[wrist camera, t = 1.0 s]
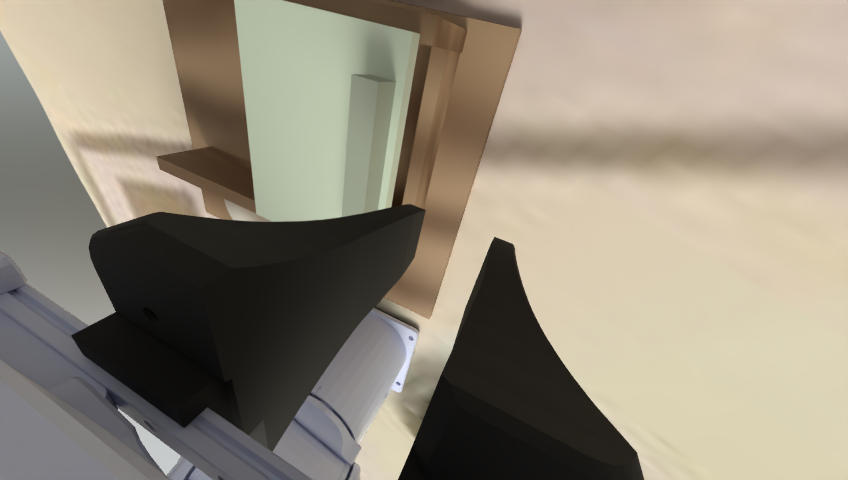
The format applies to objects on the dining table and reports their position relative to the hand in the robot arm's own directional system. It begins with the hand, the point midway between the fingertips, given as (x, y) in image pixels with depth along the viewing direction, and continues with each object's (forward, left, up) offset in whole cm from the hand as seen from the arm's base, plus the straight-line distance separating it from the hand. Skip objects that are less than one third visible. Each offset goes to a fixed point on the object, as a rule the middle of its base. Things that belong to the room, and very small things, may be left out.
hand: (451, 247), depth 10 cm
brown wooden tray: (-3, +14, -9) cm, 17 cm away
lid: (0, +9, -4) cm, 10 cm away
